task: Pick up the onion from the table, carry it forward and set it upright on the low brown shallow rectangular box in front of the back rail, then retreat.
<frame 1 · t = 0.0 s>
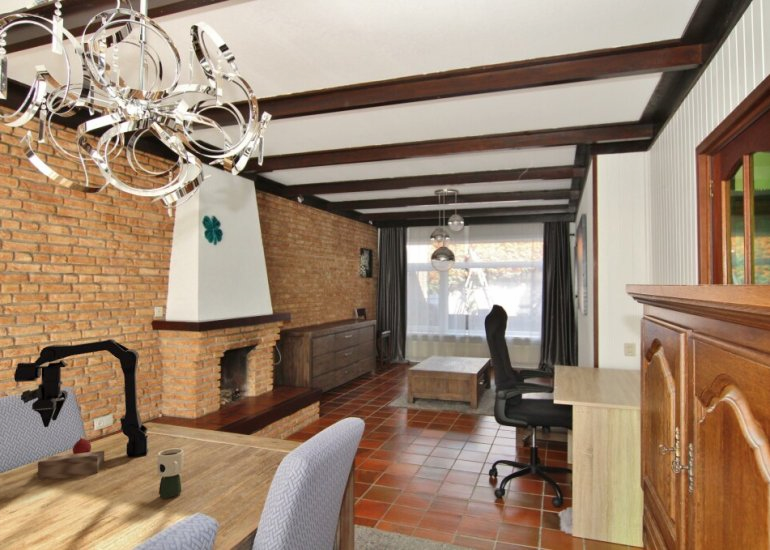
hand: (50, 423, 169), 15 cm above the table, fingers open, 9 cm apart
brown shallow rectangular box: (72, 470, 162), on the table
onion: (81, 459, 174), on the table
character mug: (170, 496, 142), on the table
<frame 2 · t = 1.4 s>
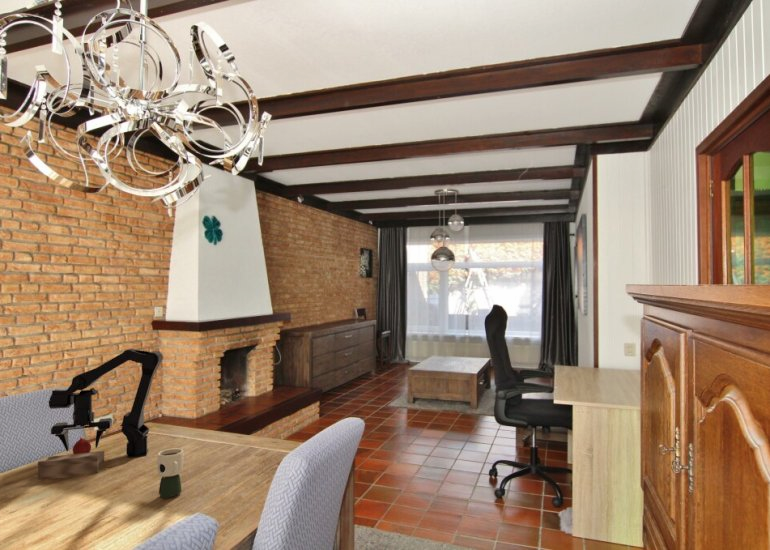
hand: (82, 449, 175), 3 cm above the table, fingers open, 9 cm apart
nothing on the table moved.
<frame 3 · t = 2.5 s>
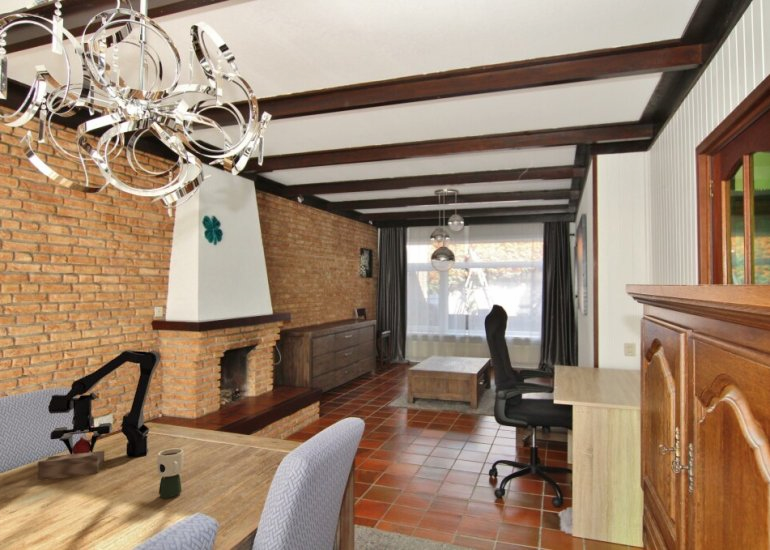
hand: (81, 454, 174), 2 cm above the table, fingers closed on onion, 6 cm apart
onion: (81, 459, 174), on the table, touching gripper
everything else where it was.
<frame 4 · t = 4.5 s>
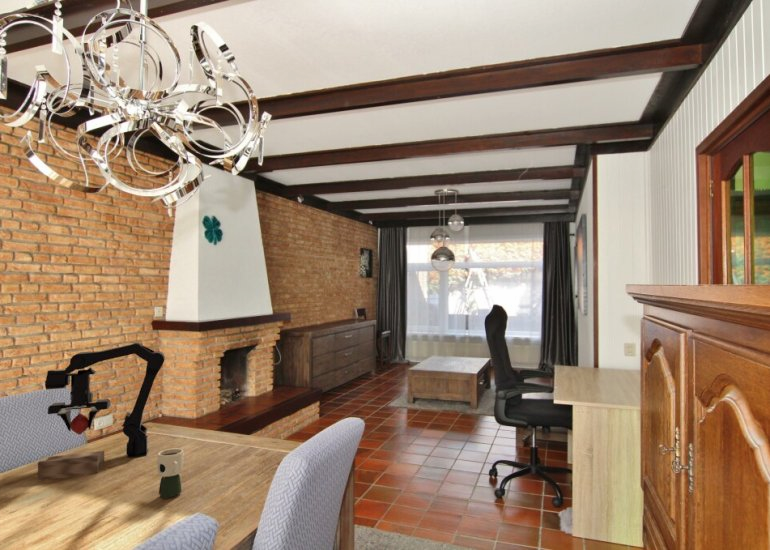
hand: (79, 429, 172), 12 cm above the table, fingers closed on onion, 6 cm apart
onion: (79, 434, 171), point 10 cm above the table, touching gripper
everything else where it was.
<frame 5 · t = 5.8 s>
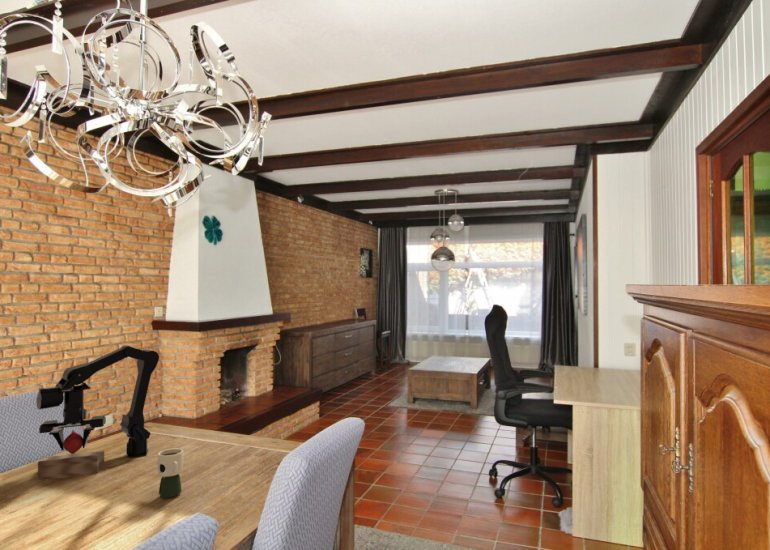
hand: (73, 449, 163), 7 cm above the table, fingers closed on onion, 6 cm apart
onion: (73, 454, 163), point 6 cm above the table, touching gripper
everything else where it was.
when the fingers open (7 cm above the table, at t = 6.6 s): onion drops 2 cm, resting on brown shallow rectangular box.
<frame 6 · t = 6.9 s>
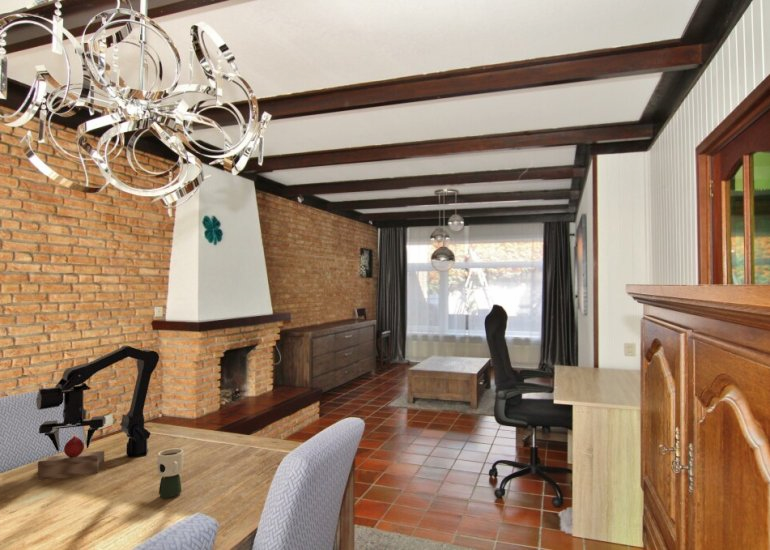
hand: (73, 449, 163), 7 cm above the table, fingers open, 8 cm apart
onion: (73, 459, 163), point 4 cm above the table, touching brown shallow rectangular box
everything else where it was.
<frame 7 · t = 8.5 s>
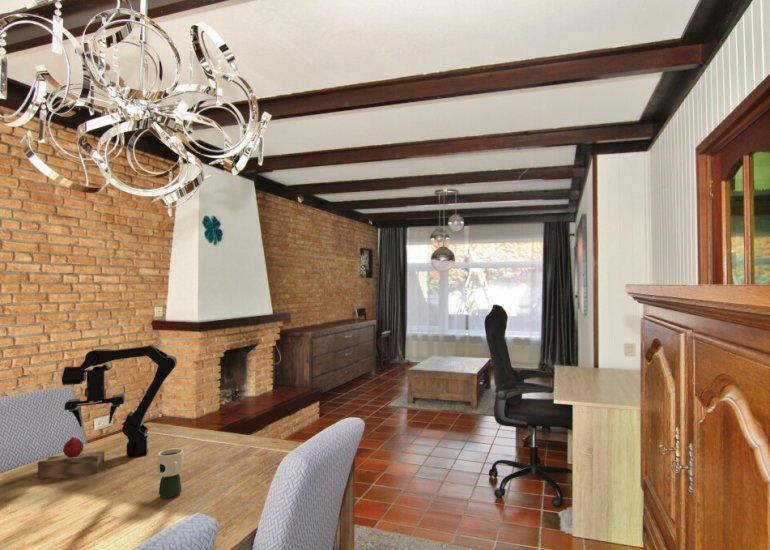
hand: (95, 425, 175), 12 cm above the table, fingers open, 9 cm apart
nothing on the table moved.
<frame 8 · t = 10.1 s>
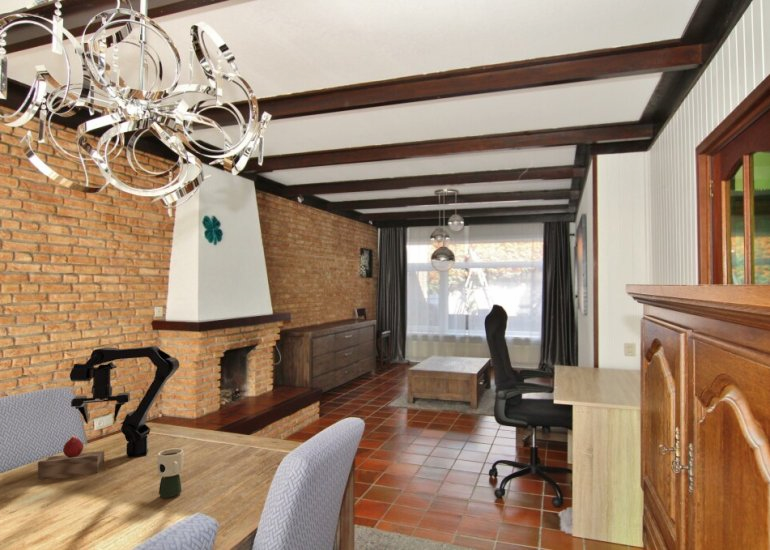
hand: (101, 422, 178), 13 cm above the table, fingers open, 9 cm apart
nothing on the table moved.
at the end: onion inside the target area on the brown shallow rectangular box (0.2 cm from its centre), point 3.8 cm above the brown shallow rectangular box's base; onion tilted 0°; the gripper is holding nothing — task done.
